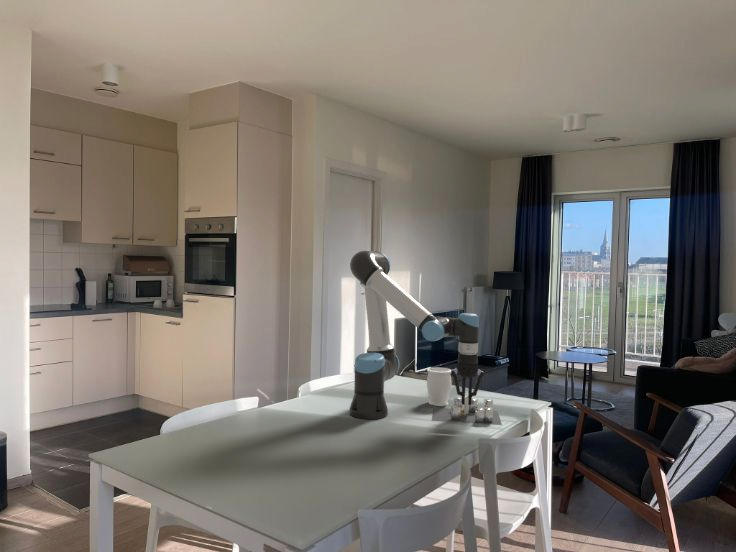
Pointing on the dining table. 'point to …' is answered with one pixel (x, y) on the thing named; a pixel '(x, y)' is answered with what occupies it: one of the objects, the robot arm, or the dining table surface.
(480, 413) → the spacers
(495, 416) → the mat
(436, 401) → the jar
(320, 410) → the dining table surface
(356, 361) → the robot arm
